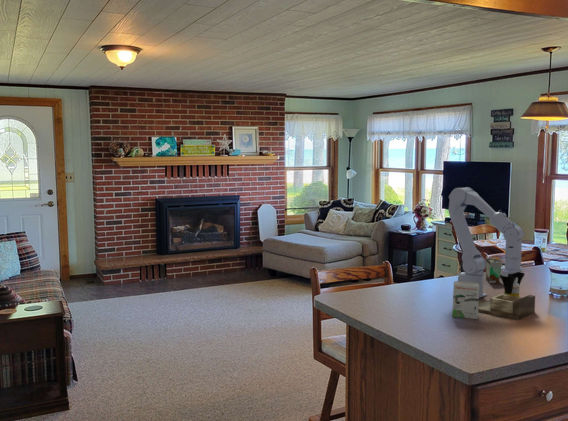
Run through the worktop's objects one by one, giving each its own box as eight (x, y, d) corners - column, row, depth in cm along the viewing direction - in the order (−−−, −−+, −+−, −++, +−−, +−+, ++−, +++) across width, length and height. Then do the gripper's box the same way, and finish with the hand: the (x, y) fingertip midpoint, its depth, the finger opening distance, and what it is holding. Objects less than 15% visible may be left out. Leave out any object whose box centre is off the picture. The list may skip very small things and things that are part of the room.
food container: (504, 285, 240) (505, 263, 239) (489, 285, 241) (490, 262, 240) (499, 279, 252) (500, 258, 251) (485, 279, 253) (486, 257, 252)
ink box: (452, 317, 191) (453, 283, 190) (452, 313, 196) (453, 280, 195) (478, 319, 189) (479, 285, 188) (477, 315, 194) (479, 282, 192)
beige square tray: (489, 308, 198) (490, 298, 197) (500, 304, 204) (501, 293, 204) (514, 313, 191) (515, 302, 191) (525, 309, 198) (525, 298, 197)
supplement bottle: (501, 300, 214) (502, 276, 213) (514, 300, 215) (515, 275, 214) (508, 304, 209) (509, 279, 208) (521, 303, 209) (522, 278, 209)
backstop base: (465, 308, 202) (466, 292, 201) (483, 302, 212) (483, 286, 211) (518, 319, 188) (519, 302, 188) (534, 312, 198) (535, 295, 197)
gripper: (515, 261, 202) (514, 297, 204) (531, 256, 212) (529, 290, 214) (496, 258, 207) (495, 293, 209) (513, 254, 217) (511, 287, 219)
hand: (511, 292), depth 211 cm, fingers closed on supplement bottle, 5 cm apart
